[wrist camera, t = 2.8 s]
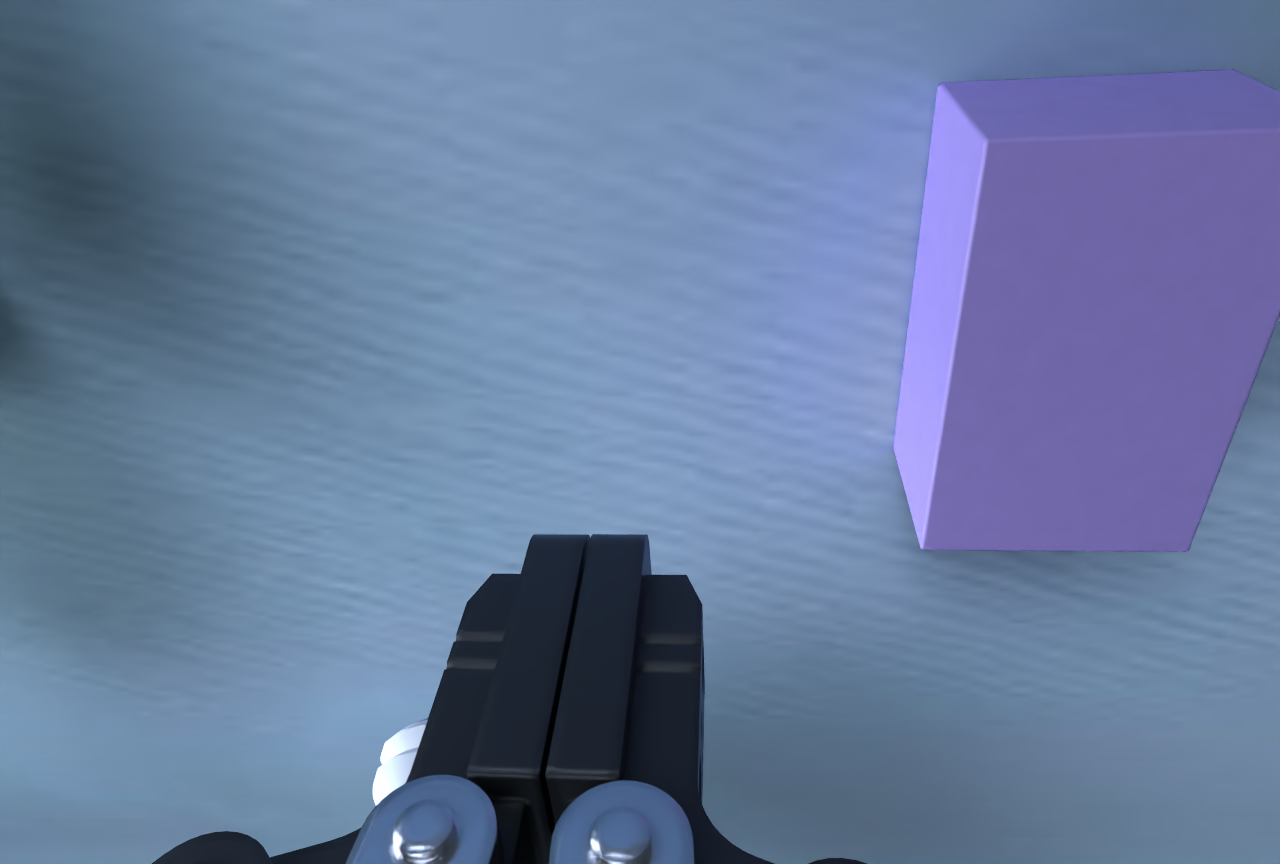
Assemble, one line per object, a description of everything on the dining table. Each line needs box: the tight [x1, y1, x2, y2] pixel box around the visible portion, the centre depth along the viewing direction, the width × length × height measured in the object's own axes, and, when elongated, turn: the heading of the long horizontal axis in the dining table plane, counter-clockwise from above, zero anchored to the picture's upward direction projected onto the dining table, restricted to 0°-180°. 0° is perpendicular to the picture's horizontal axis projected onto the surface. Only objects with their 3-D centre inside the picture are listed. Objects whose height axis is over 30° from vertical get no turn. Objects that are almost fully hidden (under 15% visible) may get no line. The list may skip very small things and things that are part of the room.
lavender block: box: [893, 70, 1280, 552], centre depth 16 cm, size 8×5×4 cm, turn 4°
